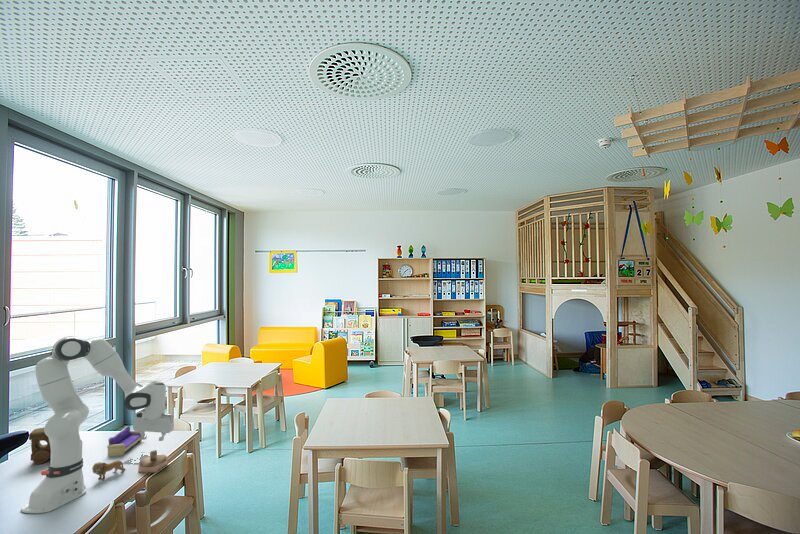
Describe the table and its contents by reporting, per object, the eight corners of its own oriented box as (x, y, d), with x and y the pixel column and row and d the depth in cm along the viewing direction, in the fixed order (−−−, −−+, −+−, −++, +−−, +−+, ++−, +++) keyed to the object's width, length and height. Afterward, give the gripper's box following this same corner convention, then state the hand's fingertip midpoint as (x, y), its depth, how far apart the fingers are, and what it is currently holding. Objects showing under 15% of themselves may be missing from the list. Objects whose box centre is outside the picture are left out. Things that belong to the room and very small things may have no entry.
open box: (155, 473, 195) (155, 466, 195) (138, 472, 195) (138, 465, 195) (167, 464, 204) (167, 457, 204) (150, 464, 204) (151, 457, 204)
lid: (140, 469, 191) (140, 458, 191) (138, 460, 201) (139, 450, 201) (168, 462, 198) (168, 452, 199) (165, 454, 208) (165, 444, 208)
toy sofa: (123, 456, 214) (124, 438, 214) (106, 457, 212) (106, 438, 213) (142, 441, 234) (143, 424, 235) (127, 442, 233) (127, 425, 233)
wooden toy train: (26, 467, 201) (28, 435, 201) (34, 458, 211) (35, 427, 211) (75, 458, 210) (76, 428, 211) (80, 450, 220) (81, 421, 221)
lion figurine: (95, 484, 184) (95, 465, 184) (89, 482, 186) (89, 463, 186) (128, 471, 197) (128, 453, 197) (122, 469, 199) (122, 451, 199)
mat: (146, 465, 203) (146, 464, 203) (120, 464, 203) (121, 464, 203) (163, 453, 217) (163, 453, 217) (140, 453, 217) (140, 452, 217)
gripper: (177, 412, 203) (175, 438, 202) (140, 410, 204) (138, 436, 203) (169, 416, 197) (167, 443, 196) (131, 413, 198) (129, 441, 197)
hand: (152, 440), depth 200 cm, fingers open, 8 cm apart
